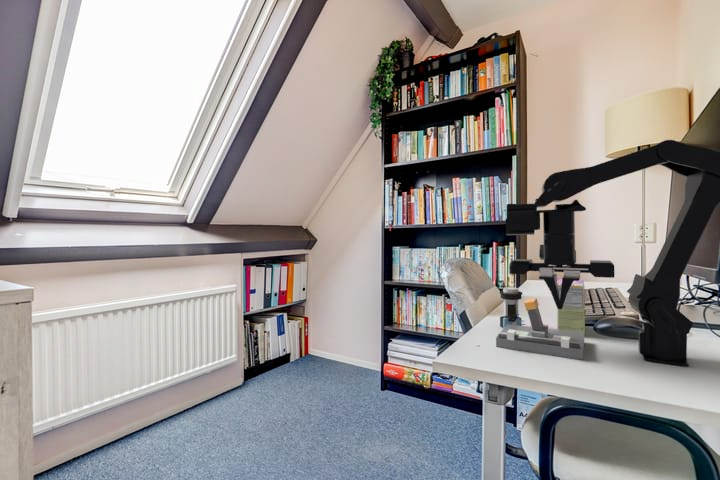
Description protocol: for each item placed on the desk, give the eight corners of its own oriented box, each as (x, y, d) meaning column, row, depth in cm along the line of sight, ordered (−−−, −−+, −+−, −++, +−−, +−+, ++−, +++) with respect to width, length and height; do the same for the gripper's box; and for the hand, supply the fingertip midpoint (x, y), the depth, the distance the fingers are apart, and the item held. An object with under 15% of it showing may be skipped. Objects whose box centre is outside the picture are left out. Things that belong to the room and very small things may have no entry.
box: (558, 323, 96) (558, 278, 96) (584, 326, 93) (584, 280, 93) (556, 334, 87) (556, 284, 87) (584, 337, 84) (584, 286, 84)
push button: (519, 323, 97) (519, 286, 96) (531, 329, 91) (531, 289, 91) (496, 325, 96) (495, 287, 95) (506, 331, 90) (506, 290, 90)
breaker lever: (545, 330, 80) (536, 298, 81) (543, 334, 77) (534, 301, 77) (535, 331, 81) (527, 299, 82) (533, 335, 78) (524, 302, 78)
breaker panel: (584, 342, 81) (584, 325, 80) (582, 360, 70) (582, 340, 70) (507, 332, 89) (507, 316, 89) (495, 347, 79) (495, 329, 79)
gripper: (611, 232, 78) (612, 305, 78) (517, 233, 88) (518, 298, 88) (614, 233, 69) (615, 316, 69) (508, 235, 79) (509, 307, 79)
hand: (560, 308), depth 77 cm, fingers closed
